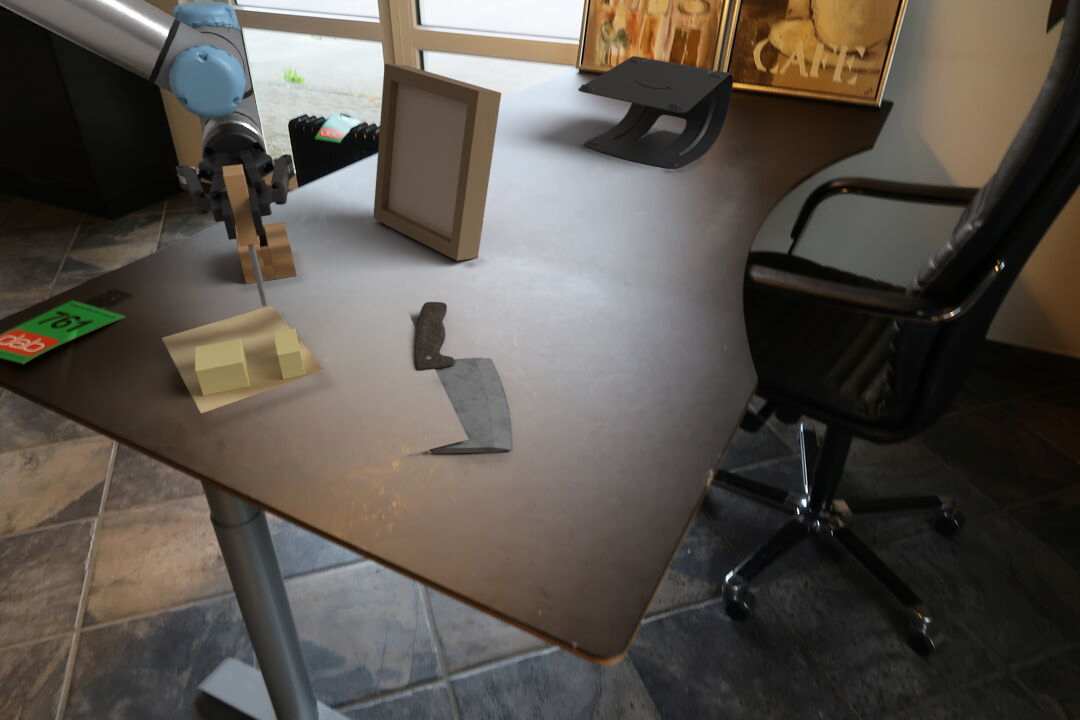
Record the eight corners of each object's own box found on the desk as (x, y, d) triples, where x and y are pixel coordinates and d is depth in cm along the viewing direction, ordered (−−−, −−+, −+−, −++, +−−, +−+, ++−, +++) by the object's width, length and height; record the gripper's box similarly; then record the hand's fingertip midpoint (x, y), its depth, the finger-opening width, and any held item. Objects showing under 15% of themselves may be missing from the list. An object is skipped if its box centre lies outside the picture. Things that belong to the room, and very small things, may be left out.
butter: (202, 371, 82) (194, 346, 80) (247, 362, 84) (240, 338, 82) (203, 396, 79) (194, 371, 77) (250, 386, 80) (243, 361, 78)
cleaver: (406, 315, 96) (405, 302, 94) (477, 307, 98) (477, 294, 96) (429, 465, 73) (427, 450, 71) (521, 451, 74) (521, 436, 73)
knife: (252, 283, 84) (221, 161, 76) (270, 280, 85) (241, 159, 76) (255, 307, 80) (223, 181, 71) (274, 304, 80) (244, 178, 72)
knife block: (242, 258, 109) (235, 228, 106) (290, 250, 111) (284, 221, 108) (246, 284, 102) (238, 253, 99) (296, 275, 104) (290, 245, 102)
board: (164, 347, 89) (161, 337, 88) (274, 314, 96) (272, 305, 95) (204, 423, 77) (200, 413, 76) (326, 379, 84) (324, 369, 83)
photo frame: (457, 266, 108) (447, 98, 93) (373, 223, 120) (353, 69, 105) (525, 237, 117) (525, 79, 102) (441, 199, 129) (431, 54, 114)
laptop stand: (727, 144, 157) (740, 71, 148) (675, 173, 142) (686, 94, 133) (630, 121, 169) (636, 53, 161) (572, 146, 154) (576, 72, 145)
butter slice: (278, 356, 85) (273, 332, 83) (300, 352, 86) (295, 328, 84) (283, 379, 81) (277, 355, 79) (305, 375, 82) (300, 350, 80)
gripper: (301, 173, 94) (325, 247, 76) (178, 187, 89) (173, 269, 72) (290, 116, 90) (313, 181, 72) (161, 128, 85) (151, 200, 67)
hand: (243, 225), depth 72 cm, fingers closed on knife, 2 cm apart
